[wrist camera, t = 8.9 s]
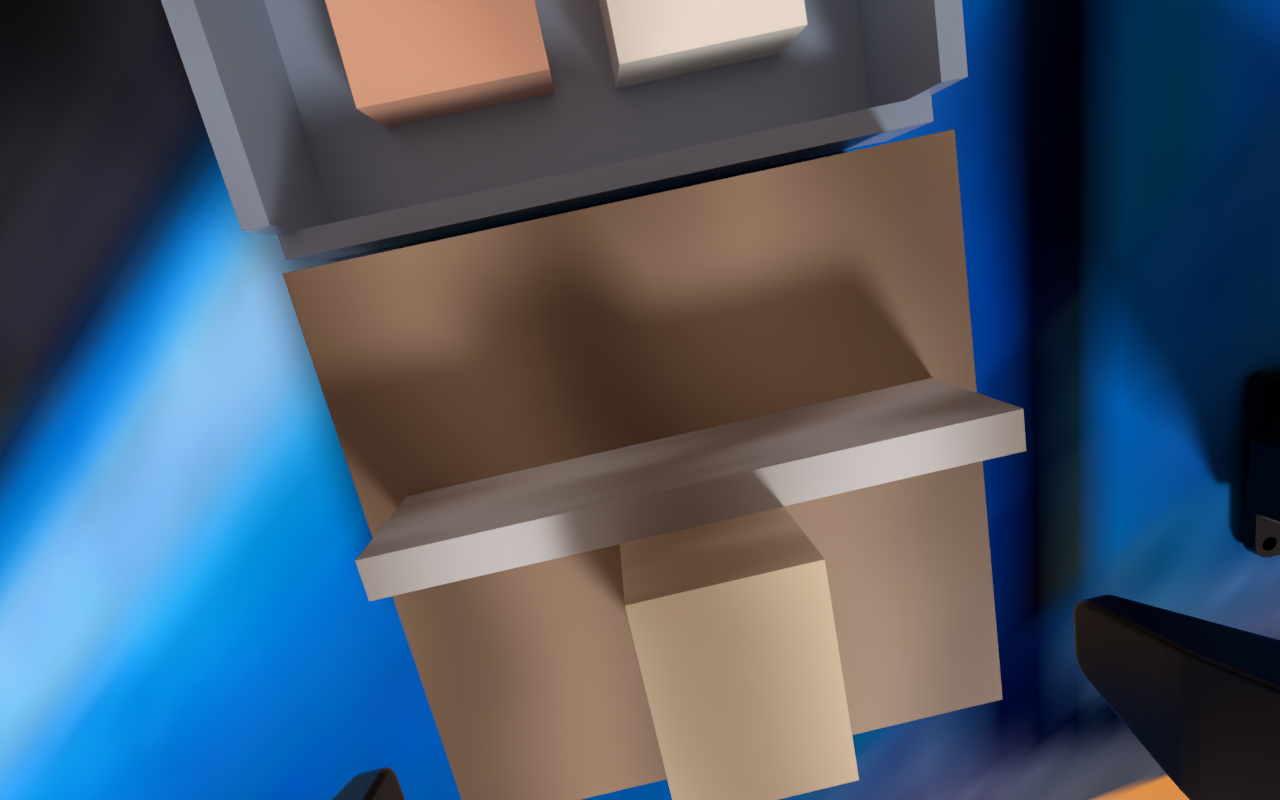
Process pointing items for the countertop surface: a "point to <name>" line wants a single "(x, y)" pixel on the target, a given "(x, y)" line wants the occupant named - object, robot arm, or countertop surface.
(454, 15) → the tile terracotta
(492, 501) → the scraper
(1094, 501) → the countertop surface
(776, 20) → the tile cream
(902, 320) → the brown square tray
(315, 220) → the box
